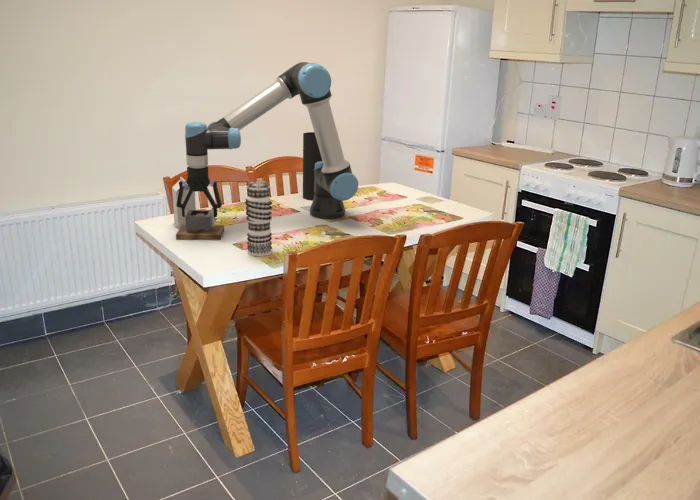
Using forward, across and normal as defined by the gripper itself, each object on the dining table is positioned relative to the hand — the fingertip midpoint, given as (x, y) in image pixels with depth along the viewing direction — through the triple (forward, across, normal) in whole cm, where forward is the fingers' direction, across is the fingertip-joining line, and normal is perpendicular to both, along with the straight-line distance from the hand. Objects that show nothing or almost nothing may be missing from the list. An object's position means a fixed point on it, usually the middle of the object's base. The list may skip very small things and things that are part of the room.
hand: (200, 225), depth 228 cm
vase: (+4, -44, -58) cm, 73 cm away
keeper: (+4, 0, 0) cm, 4 cm away
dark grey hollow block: (0, 0, 0) cm, 0 cm away
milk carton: (+4, +8, -11) cm, 14 cm away
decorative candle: (+4, -23, +19) cm, 30 cm away
